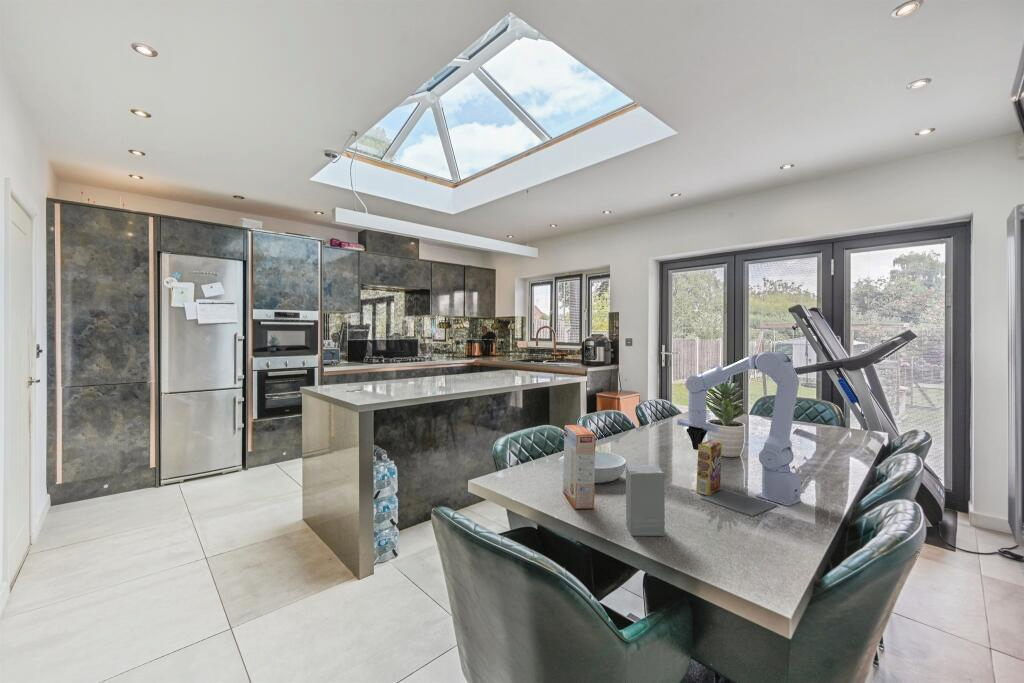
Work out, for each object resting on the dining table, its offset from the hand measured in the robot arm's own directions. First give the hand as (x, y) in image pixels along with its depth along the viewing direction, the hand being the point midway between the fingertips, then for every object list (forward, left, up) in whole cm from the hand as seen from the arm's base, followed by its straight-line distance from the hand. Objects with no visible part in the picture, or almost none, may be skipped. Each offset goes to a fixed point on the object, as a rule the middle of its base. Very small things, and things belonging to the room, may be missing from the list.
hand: (696, 449), depth 150 cm
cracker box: (+5, +50, -10) cm, 51 cm away
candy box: (-11, +10, -10) cm, 18 cm away
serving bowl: (+17, +32, -10) cm, 38 cm away
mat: (-21, +11, -9) cm, 26 cm away
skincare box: (-19, +50, -10) cm, 54 cm away
